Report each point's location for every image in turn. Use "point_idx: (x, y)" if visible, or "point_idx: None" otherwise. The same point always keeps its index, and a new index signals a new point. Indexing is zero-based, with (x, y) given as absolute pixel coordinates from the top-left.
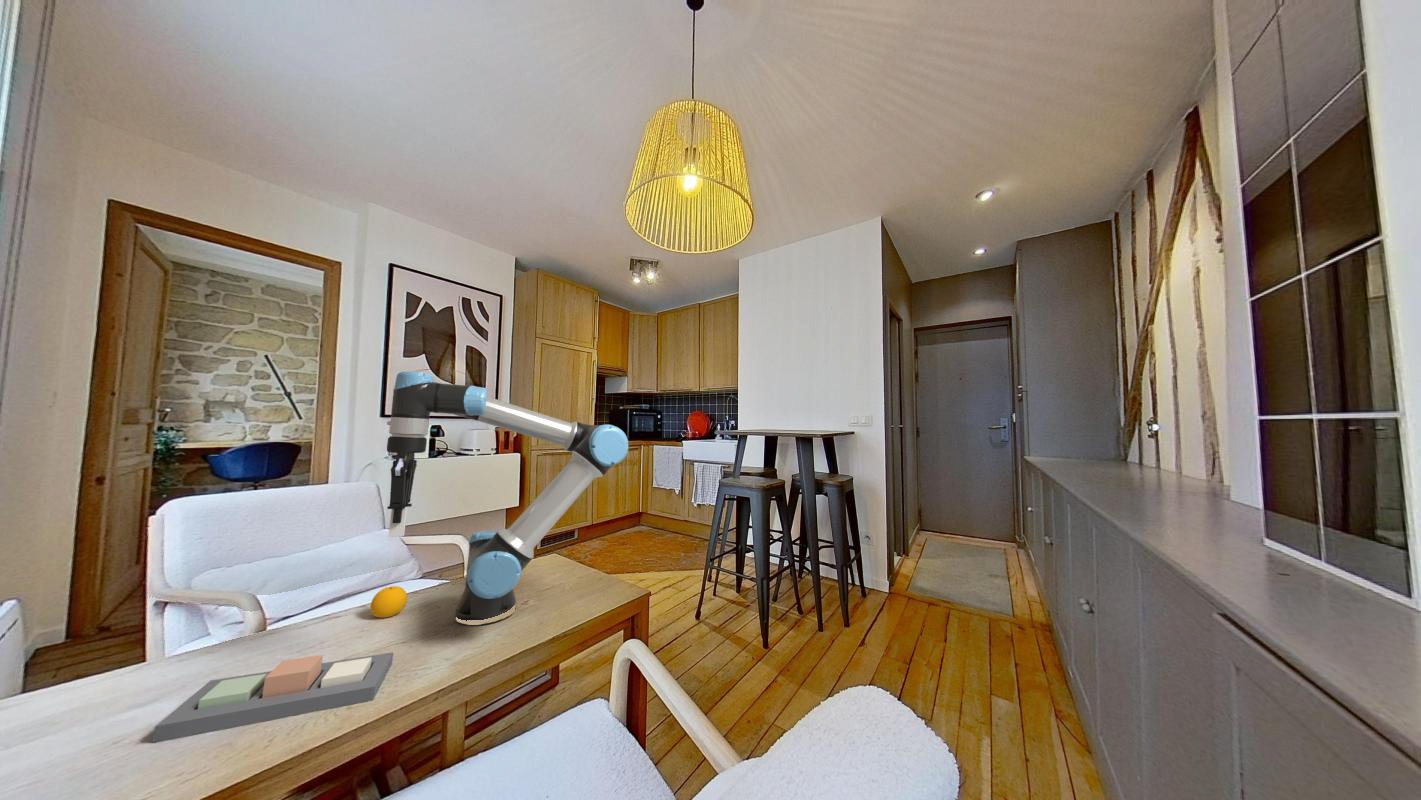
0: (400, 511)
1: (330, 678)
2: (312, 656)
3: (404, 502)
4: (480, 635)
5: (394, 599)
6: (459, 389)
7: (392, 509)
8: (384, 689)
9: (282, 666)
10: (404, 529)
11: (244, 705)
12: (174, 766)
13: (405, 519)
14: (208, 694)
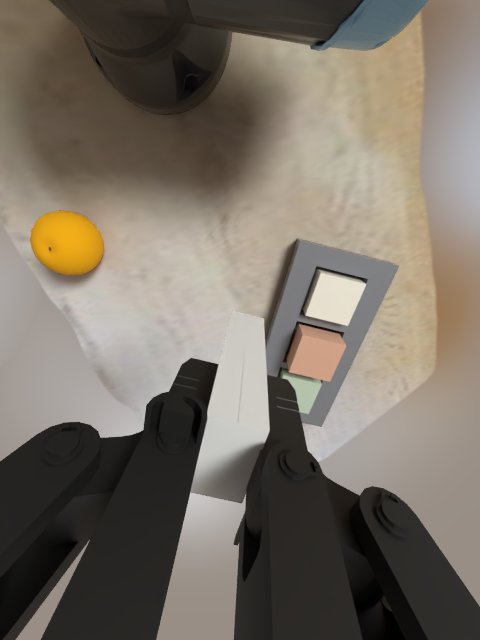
0: (305, 448)
1: (351, 317)
2: (299, 345)
3: (330, 522)
4: (278, 66)
5: (86, 238)
6: None
7: (244, 494)
8: (370, 248)
9: (308, 370)
10: (235, 325)
11: (334, 379)
12: (373, 398)
13: (238, 357)
14: (300, 410)
